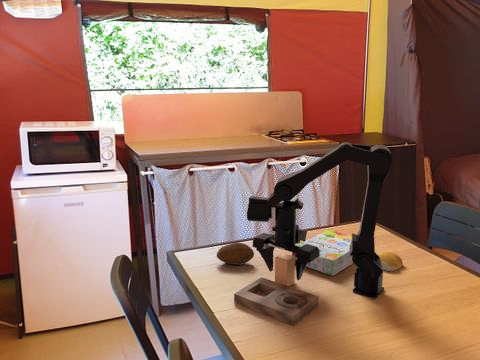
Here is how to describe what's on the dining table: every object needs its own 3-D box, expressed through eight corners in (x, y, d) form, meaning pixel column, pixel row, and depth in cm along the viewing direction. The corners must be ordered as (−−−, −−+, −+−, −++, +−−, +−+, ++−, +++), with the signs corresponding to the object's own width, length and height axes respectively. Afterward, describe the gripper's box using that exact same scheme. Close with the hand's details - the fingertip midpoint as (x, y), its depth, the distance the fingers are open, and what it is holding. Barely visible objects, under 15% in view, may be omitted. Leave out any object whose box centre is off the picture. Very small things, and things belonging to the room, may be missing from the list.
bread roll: (406, 264, 138) (407, 252, 137) (393, 274, 132) (394, 261, 131) (380, 257, 144) (381, 245, 143) (367, 266, 138) (368, 254, 137)
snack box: (291, 263, 140) (333, 277, 130) (291, 246, 139) (333, 259, 129) (328, 244, 155) (368, 254, 145) (328, 228, 154) (369, 238, 144)
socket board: (318, 305, 115) (318, 296, 114) (293, 325, 106) (293, 316, 105) (261, 285, 126) (261, 277, 125) (234, 302, 117) (234, 293, 116)
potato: (216, 260, 143) (215, 239, 141) (252, 258, 144) (252, 237, 142) (217, 269, 136) (216, 247, 135) (255, 267, 138) (255, 245, 136)
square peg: (294, 282, 127) (294, 256, 125) (286, 288, 124) (287, 261, 122) (282, 278, 130) (282, 253, 128) (274, 284, 127) (274, 257, 125)
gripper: (330, 221, 123) (328, 274, 127) (273, 209, 134) (273, 257, 138) (309, 233, 115) (308, 289, 118) (251, 219, 126) (251, 270, 130)
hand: (284, 275), depth 126 cm, fingers open, 9 cm apart
